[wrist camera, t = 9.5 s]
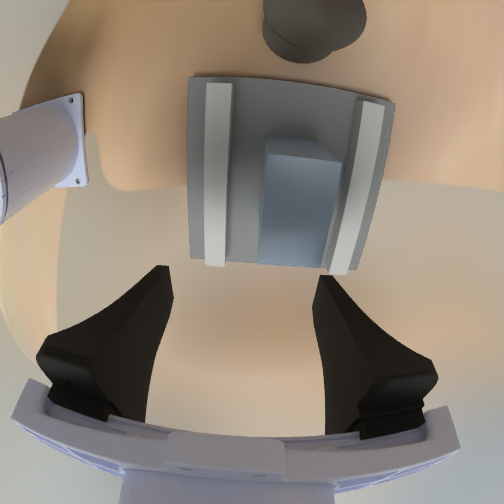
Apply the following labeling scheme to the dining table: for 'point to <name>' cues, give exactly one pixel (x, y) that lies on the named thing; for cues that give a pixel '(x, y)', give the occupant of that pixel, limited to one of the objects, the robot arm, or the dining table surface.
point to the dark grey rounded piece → (311, 27)
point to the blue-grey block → (296, 201)
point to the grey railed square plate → (252, 156)
